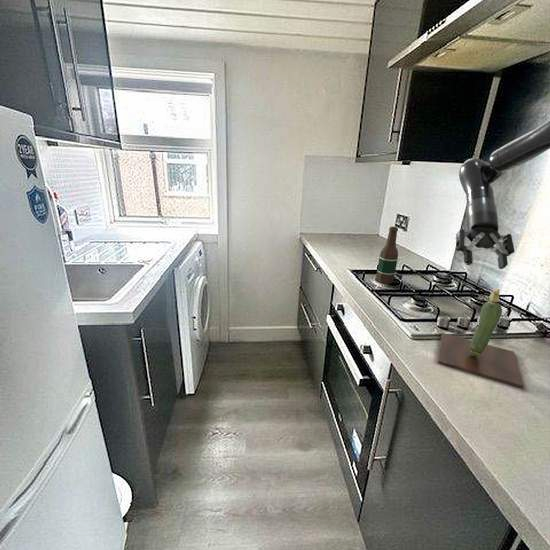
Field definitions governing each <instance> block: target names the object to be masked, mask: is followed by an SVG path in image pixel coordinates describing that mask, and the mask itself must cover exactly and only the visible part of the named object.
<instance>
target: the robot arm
mask: <svg viewBox="0 0 550 550" xmlns="http://www.w3.org/2000/svg"><path fill="white" fill-rule="evenodd" d="M549 150H550V119H549V120H547V121H546V122H545V123H544V122H543V124H541V125H540V126H538V127H536V128H534V129H532V130H530V131H529V132H527V133H525V134H523V135H520V136H519V137H517V138H515V139H513V140H511V141H510V142H507V143H506V144H504V145H503V146H501V147H499V148H497V149H495V150H494V151H493V152H492V153H491V154H490V156H489V162H487V161H485V160H482V159H480V158H476V157H472V158H469V159H468V158H467V160H465V161H464V162H463V163H462V164H461V166H460V168H459V172H458V179H459V182H460V185H461V188H462V189H463V192H464V194H465V196H466V197H465V200H466V201H465V202H466V210H465V211H466V215H465V217H466V228H467V231H465V229H463V228H461V229H460V230H458V232H457V233H456V234H455V251H457V252H462V253H463V262H464V264H465V265H466V266H470V265H472V264H473V262H474V259H473V250H472V249H473V248H474V247H475V248H476V249H477V248H478V249H481V248H483V249H485V250H490V251H491V253H495V255H496V256H497V267H498V269H499V270H503V269H505V268H506V267H507V266H508V264H509V263H508V257H509V256H511V255H512V254H514V253H515V246H514V240H513V236H512V234H510V233H507V234H506V235H503V234H500V232H499V219H498V218H499V217H498V210H497V204H496V201H495V192H494V188H493V186H492V184H493V183H494V182H496V181H497V180H499V178H501V177H502V176H504V175H505V174H506V173H507V172H508V171H510V170H513V169H515V168H517V167H519V166H521V165H524V164H525V163H528V162H529V161H531V160H534V159H535V158H536V157H539V156H540V155H542V154H544V153H545V152H547V151H549ZM466 238H467V239H468V240H469V241H470V242H469V243H468V244H467V245H465V239H466Z"/></svg>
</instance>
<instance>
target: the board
mask: <svg viewBox="0 0 550 550" xmlns="http://www.w3.org/2000/svg"><path fill="white" fill-rule="evenodd" d="M471 341H472V339H467V338H464V337H460V336H456V335H452V334H448V333H445V332H444V333H443V332H441V334H440V342H439V352H438V360H437V363H438V364H441V365H444V366H447V367H450V368H454V369H457V370H460V371H463V372H466V373H470V374H474V375H477V376H480V377H483V378H487V379H490V380H494V381H497V382H500V383H502V384H503V383H504V384H507V385H510V386H513V387H516V388H520V389H523V388H524V383H523V379H522V375H521V371H520V369H519V365H518V361H517V357H516V354H515V351H513V350H511V349H506V348H503V347H502V348H501V347H499V346H498V347H497V346H494V345H490V344H487V346H486V348H485V349H484V351H483V352H482V353H480V355H479V356H475V355H473V354H472V355H471V353H470V351H471V348H470V345H471Z"/></svg>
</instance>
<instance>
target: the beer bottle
mask: <svg viewBox="0 0 550 550" xmlns="http://www.w3.org/2000/svg"><path fill="white" fill-rule="evenodd" d="M398 231H399V227H397V226H389V228H388V235H387V239H386V243H385V245H384V246H383V247H382V249H381V251H380V253H379V258H378V262H377V270H376V275H375V281H376V282H377V283H378V284H384V285H391V284H393V283H394V280H395V275H396V271H397V266H398V265H397V264H398V258H399V251H398V248H397V234H398Z"/></svg>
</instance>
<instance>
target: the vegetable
mask: <svg viewBox="0 0 550 550" xmlns="http://www.w3.org/2000/svg"><path fill="white" fill-rule="evenodd" d="M499 300H500V289H499V288H498V289H497V288H496V289H494V291H492V292H491V293H490V295H489V300H488V301H485V303H483V305H482V306H481V308H480V312H479V320H478V324H477V327H476V329H475V332H474V334H473V336H472V338H471V345H470V348H471V351H470V353H471V355H472V354H473V355H475V356H479V355H480V353H482V352H483V351H484V349H485V348H486V346H487V345H489V342H490V340H491V337H492V335H493V333H494V332H495V330H496V328H497V326H498V324H499V322H500V320H501V317H502V315H503V314H502V313H503V308H502V304H500V302H499Z"/></svg>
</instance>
